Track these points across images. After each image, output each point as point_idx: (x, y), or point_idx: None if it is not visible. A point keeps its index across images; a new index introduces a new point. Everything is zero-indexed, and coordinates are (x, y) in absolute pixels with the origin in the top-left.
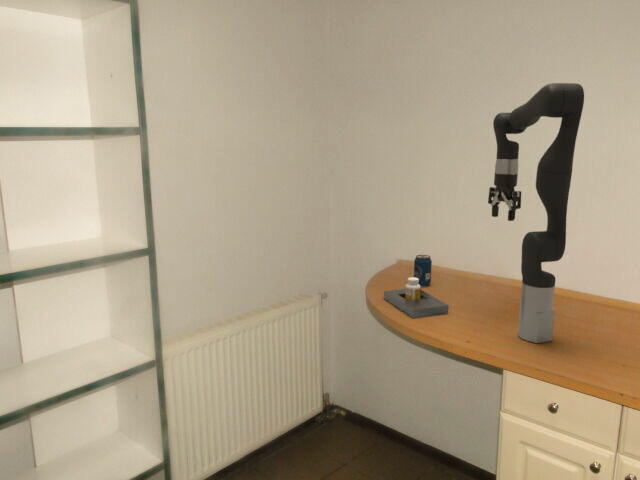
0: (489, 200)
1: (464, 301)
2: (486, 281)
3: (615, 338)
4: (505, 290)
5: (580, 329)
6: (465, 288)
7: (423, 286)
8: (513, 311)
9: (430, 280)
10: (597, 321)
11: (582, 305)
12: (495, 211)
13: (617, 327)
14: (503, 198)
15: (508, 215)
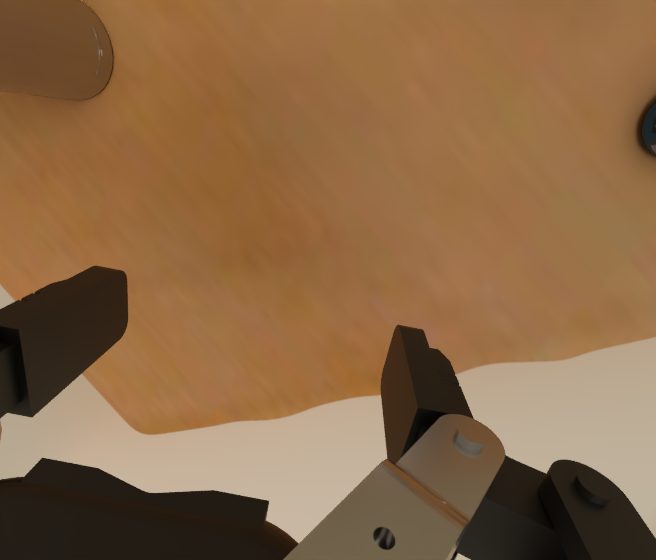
0: (605, 525)
1: (420, 117)
2: (515, 351)
3: (8, 246)
4: (415, 326)
5: (81, 227)
6: (515, 236)
7: (651, 107)
8: (262, 186)
9: (652, 142)
10: None
11: (215, 383)
12: (397, 388)
13: None
14: (9, 551)
15: (71, 288)
